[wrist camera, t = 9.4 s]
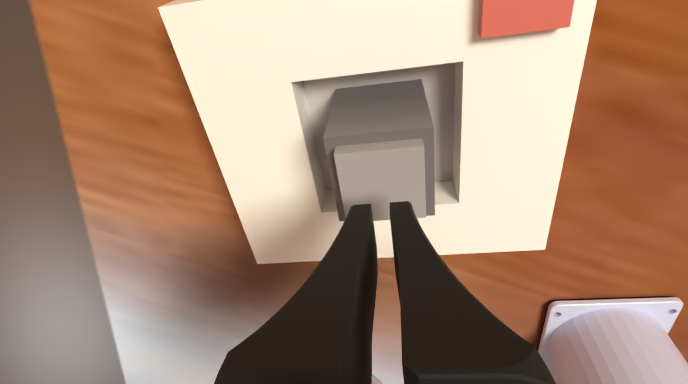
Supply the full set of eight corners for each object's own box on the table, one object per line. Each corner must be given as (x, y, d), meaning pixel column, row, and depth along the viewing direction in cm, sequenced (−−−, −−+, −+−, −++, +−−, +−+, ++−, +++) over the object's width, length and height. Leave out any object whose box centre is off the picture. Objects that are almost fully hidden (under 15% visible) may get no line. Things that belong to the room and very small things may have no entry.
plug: (423, 154, 20) (436, 224, 15) (347, 161, 20) (338, 230, 16) (421, 78, 18) (435, 134, 13) (335, 88, 18) (320, 145, 14)
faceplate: (530, 220, 22) (549, 257, 20) (267, 236, 25) (254, 271, 22) (579, -68, 14) (619, -64, 12) (184, -4, 17) (150, 10, 14)
